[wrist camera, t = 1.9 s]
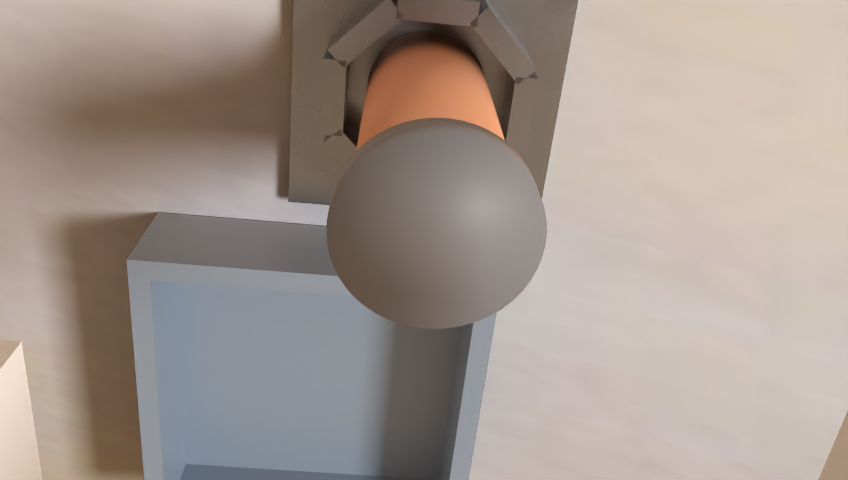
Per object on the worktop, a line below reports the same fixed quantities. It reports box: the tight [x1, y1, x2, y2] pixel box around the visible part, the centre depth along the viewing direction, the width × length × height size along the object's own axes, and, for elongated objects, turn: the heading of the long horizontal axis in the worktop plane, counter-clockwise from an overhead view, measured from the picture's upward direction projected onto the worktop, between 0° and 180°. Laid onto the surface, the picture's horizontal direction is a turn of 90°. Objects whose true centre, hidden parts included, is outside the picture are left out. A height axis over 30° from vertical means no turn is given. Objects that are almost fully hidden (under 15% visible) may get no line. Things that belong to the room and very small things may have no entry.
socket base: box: [288, 0, 578, 205], centre depth 29 cm, size 10×10×2 cm
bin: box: [126, 212, 496, 480], centre depth 34 cm, size 14×14×4 cm
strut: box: [326, 31, 547, 329], centre depth 24 cm, size 5×5×12 cm
